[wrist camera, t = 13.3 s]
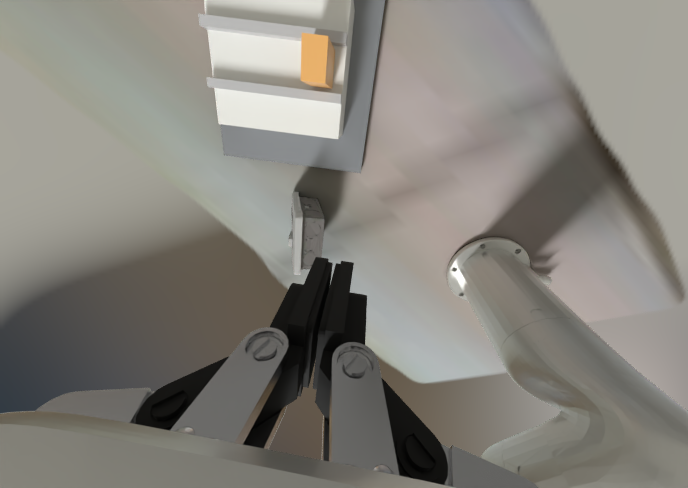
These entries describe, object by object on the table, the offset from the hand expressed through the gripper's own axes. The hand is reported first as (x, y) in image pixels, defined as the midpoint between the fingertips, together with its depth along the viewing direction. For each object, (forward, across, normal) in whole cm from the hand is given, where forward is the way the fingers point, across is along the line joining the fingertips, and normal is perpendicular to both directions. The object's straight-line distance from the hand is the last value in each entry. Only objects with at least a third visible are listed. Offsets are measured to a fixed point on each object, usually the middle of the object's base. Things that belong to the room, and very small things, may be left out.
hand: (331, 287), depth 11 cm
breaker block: (+27, +10, -11) cm, 30 cm away
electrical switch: (+28, +7, +8) cm, 30 cm away
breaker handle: (+19, +5, -10) cm, 23 cm away
